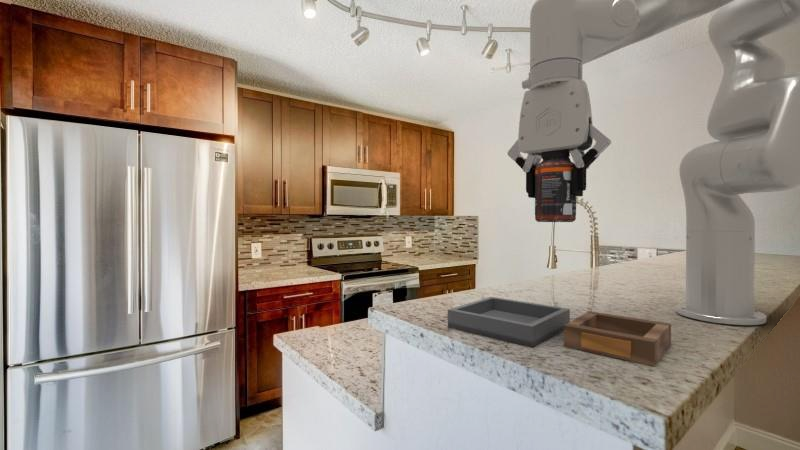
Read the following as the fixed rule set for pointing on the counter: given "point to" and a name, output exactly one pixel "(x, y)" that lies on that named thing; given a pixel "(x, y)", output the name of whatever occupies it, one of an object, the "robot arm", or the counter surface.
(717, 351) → the counter surface
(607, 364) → the counter surface
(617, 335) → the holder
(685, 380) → the counter surface
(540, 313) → the tray
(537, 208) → the supplement bottle
